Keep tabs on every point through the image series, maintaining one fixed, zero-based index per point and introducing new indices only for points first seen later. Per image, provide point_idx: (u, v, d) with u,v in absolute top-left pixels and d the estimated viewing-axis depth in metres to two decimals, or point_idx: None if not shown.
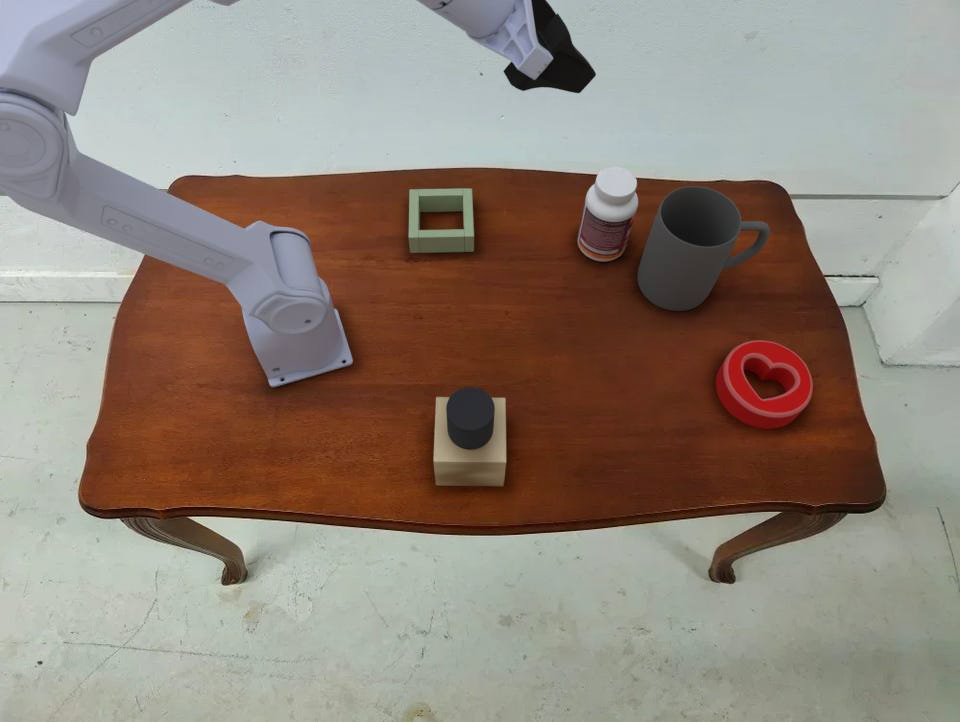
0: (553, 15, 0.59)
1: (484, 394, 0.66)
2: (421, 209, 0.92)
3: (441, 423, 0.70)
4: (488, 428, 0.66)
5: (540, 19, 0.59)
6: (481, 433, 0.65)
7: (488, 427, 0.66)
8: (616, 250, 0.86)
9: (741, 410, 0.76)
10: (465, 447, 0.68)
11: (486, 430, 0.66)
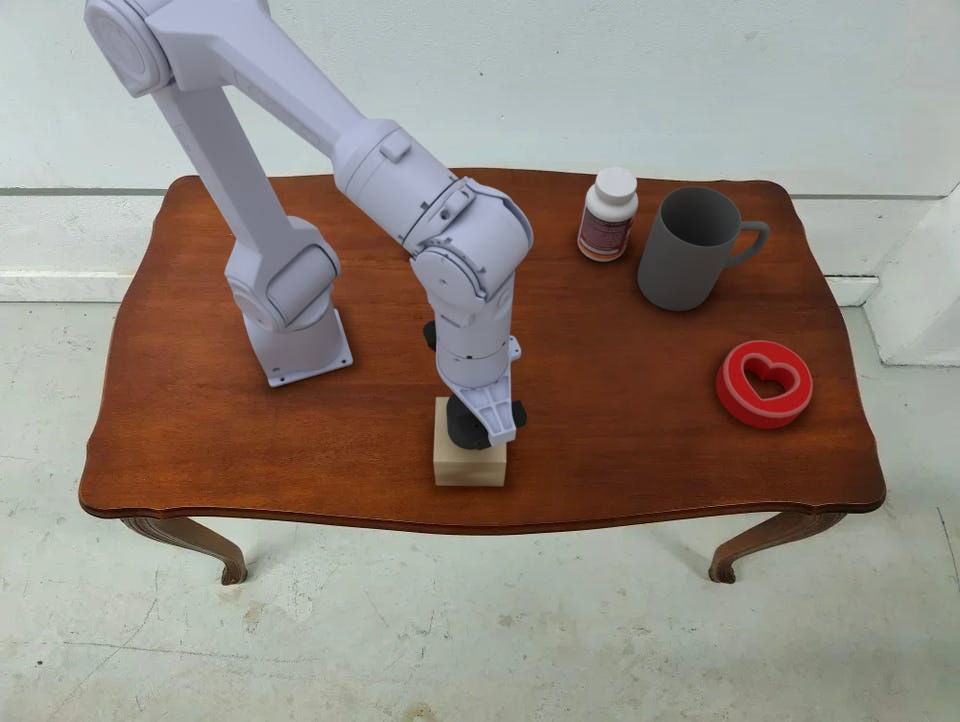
0: None
1: None
2: None
3: (441, 423, 0.70)
4: None
5: None
6: None
7: None
8: (616, 250, 0.86)
9: (741, 410, 0.76)
10: (465, 447, 0.68)
11: None
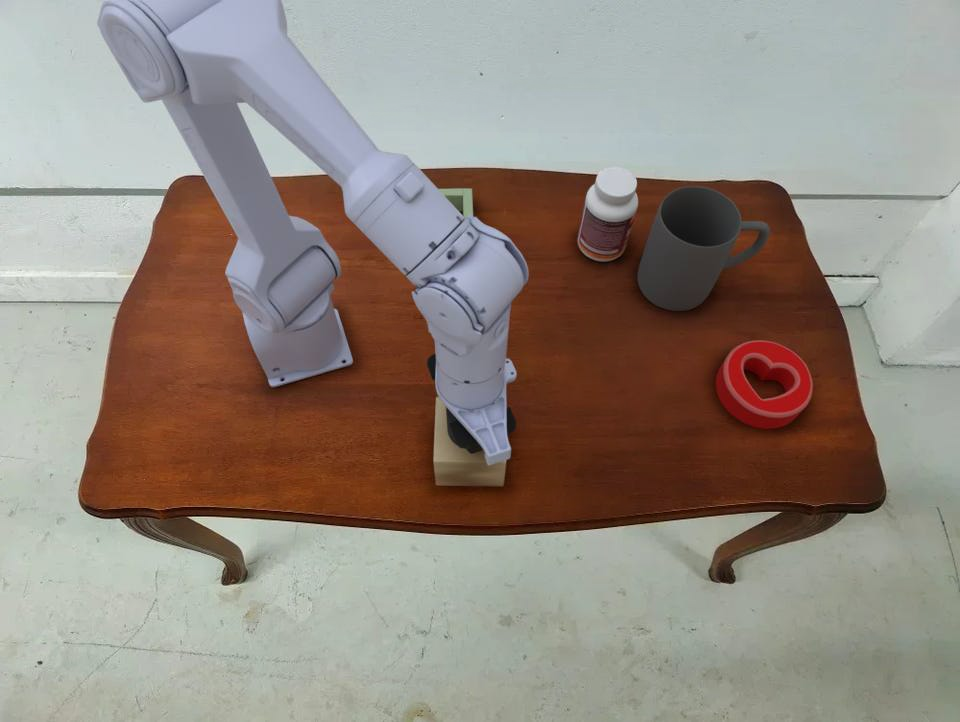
0: None
1: None
2: None
3: (441, 423, 0.70)
4: None
5: None
6: None
7: None
8: (616, 250, 0.86)
9: (741, 410, 0.76)
10: (465, 447, 0.68)
11: None
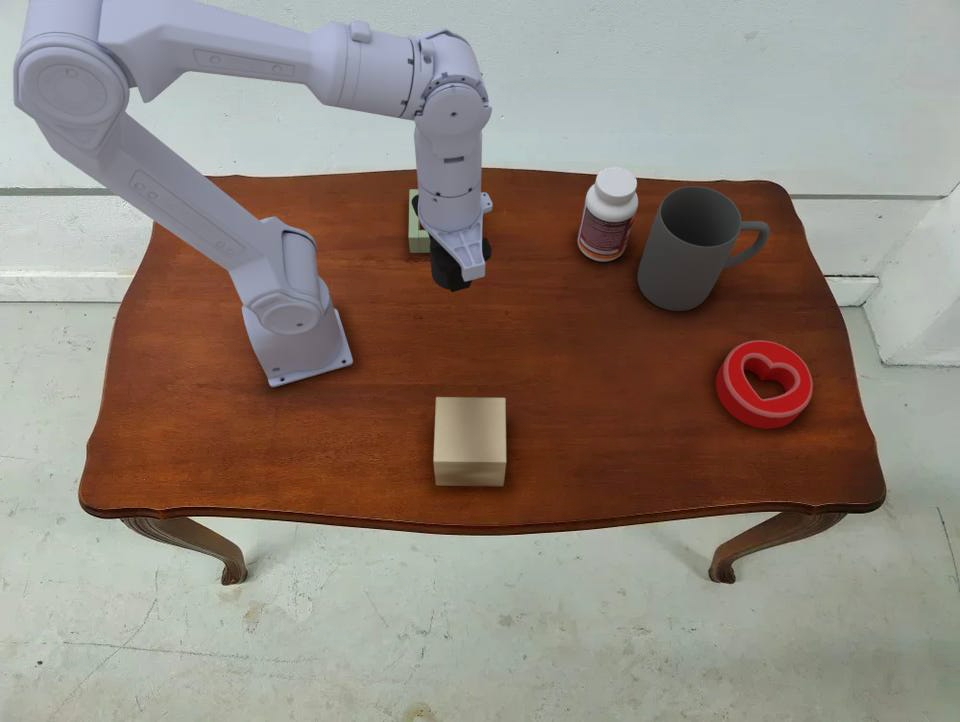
0: None
1: None
2: None
3: (441, 423, 0.70)
4: None
5: None
6: None
7: None
8: (616, 250, 0.86)
9: (741, 410, 0.76)
10: (447, 287, 0.73)
11: None
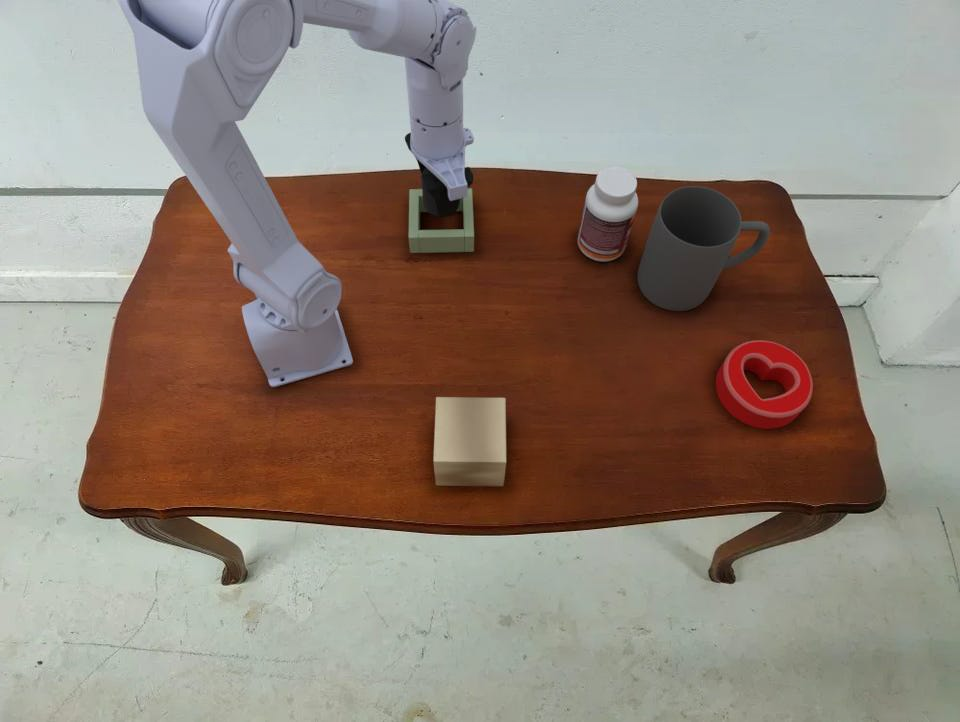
0: None
1: None
2: (421, 209, 0.92)
3: (441, 423, 0.70)
4: None
5: None
6: None
7: None
8: (616, 250, 0.86)
9: (741, 410, 0.76)
10: (437, 213, 0.85)
11: None
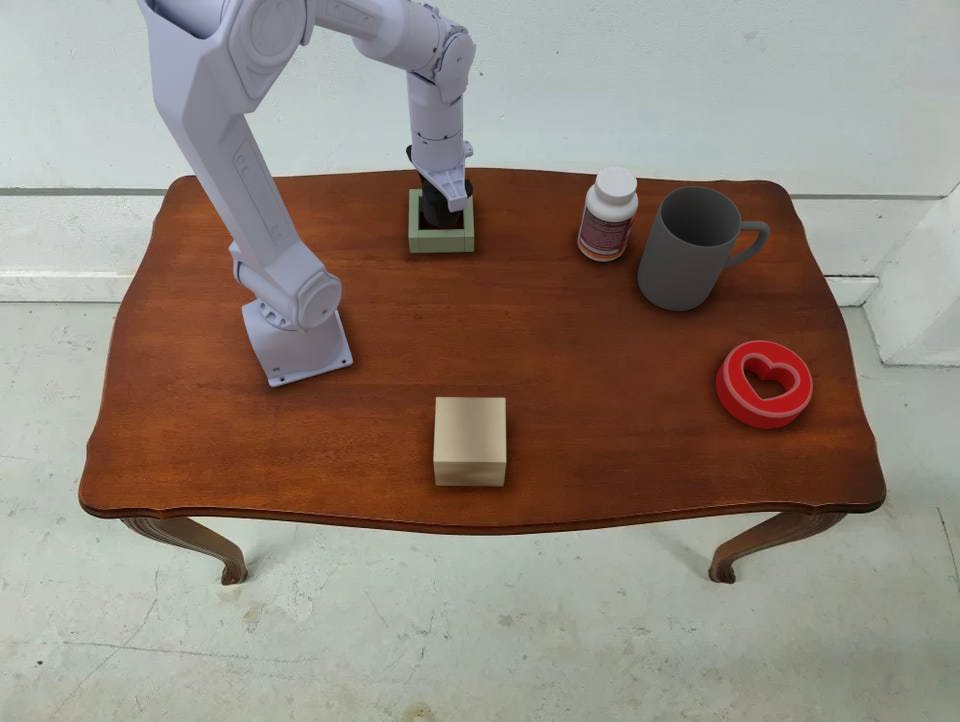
0: None
1: None
2: (421, 209, 0.92)
3: (441, 423, 0.70)
4: None
5: None
6: None
7: None
8: (616, 250, 0.86)
9: (741, 410, 0.76)
10: (437, 224, 0.87)
11: None
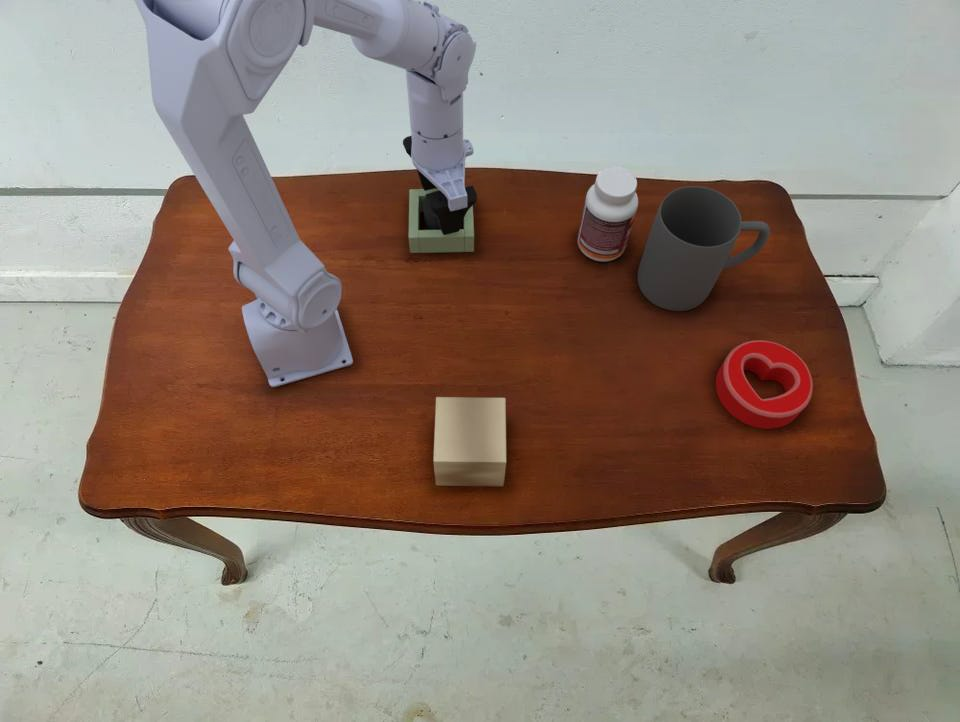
0: None
1: None
2: (421, 209, 0.92)
3: (441, 423, 0.70)
4: None
5: None
6: None
7: None
8: (616, 250, 0.86)
9: (741, 410, 0.76)
10: None
11: None
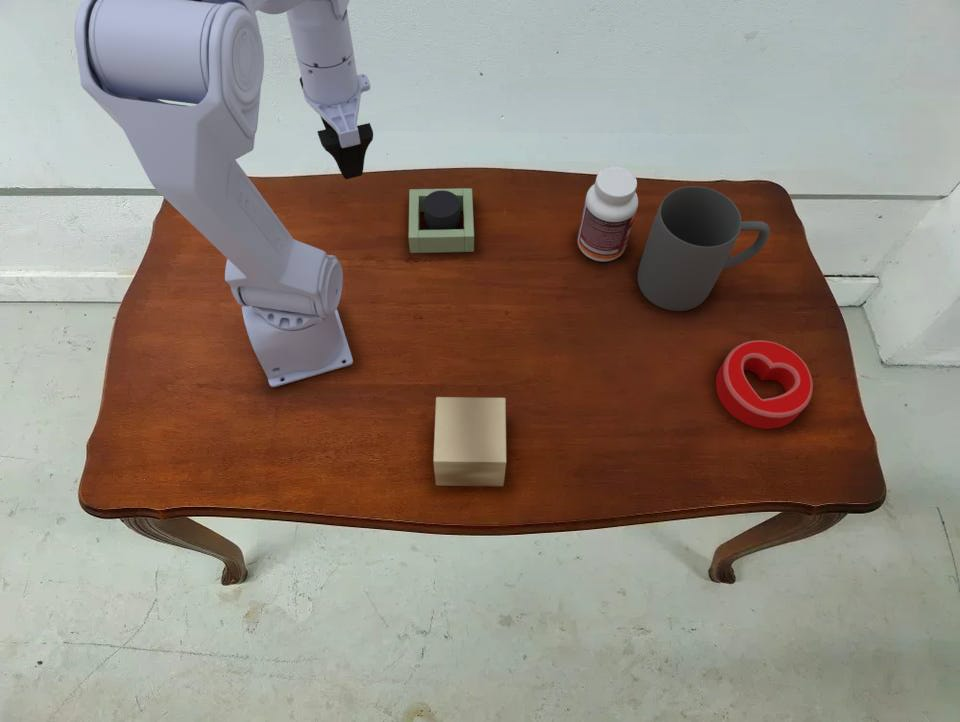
0: None
1: (452, 195, 0.88)
2: (421, 209, 0.92)
3: (441, 423, 0.70)
4: (455, 219, 0.87)
5: None
6: (449, 223, 0.87)
7: (455, 218, 0.87)
8: (616, 250, 0.86)
9: (741, 410, 0.76)
10: None
11: (453, 221, 0.87)
